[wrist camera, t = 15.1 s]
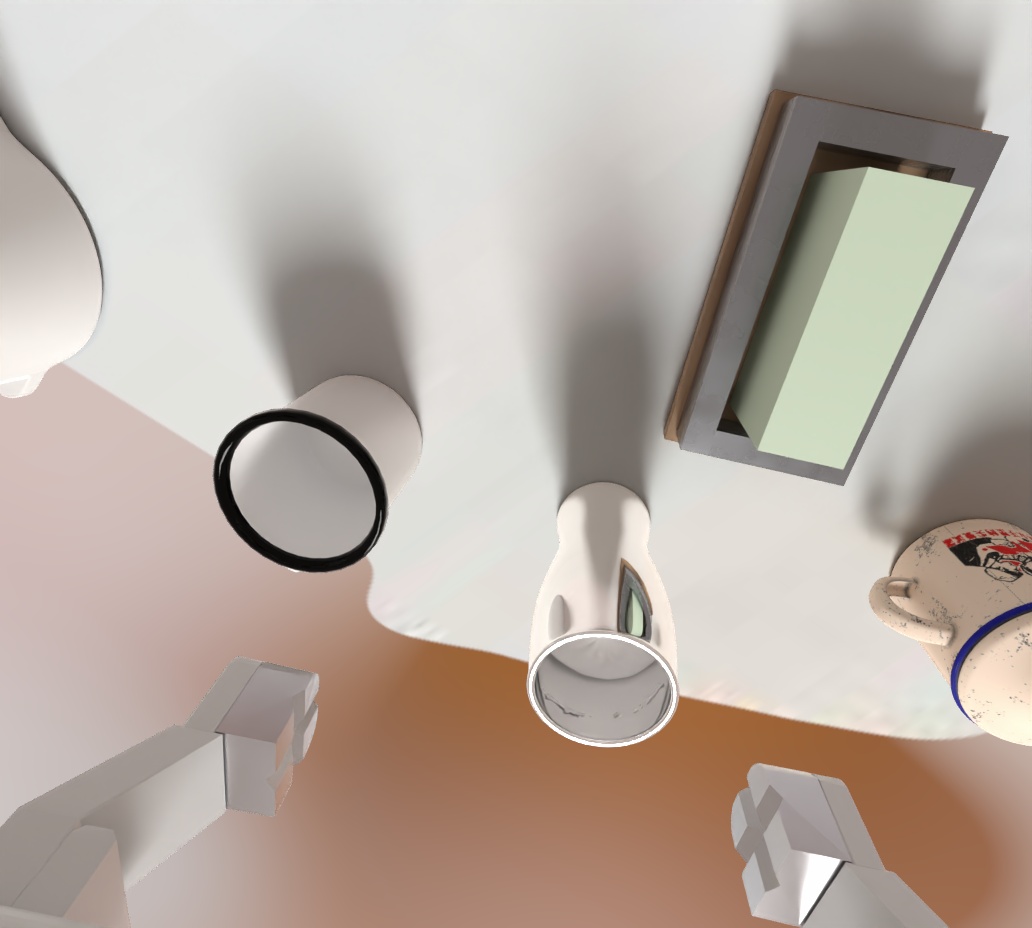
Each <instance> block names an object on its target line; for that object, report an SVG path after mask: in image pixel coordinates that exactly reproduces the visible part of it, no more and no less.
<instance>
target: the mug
mask: <svg viewBox="0 0 1032 928" xmlns="http://www.w3.org/2000/svg"><path fill="white" fill-rule="evenodd" d="M421 453H422V437H421V431H420V427H419V425H418V422H417V419H416V417H415V415H414V414H413V412H412V410H411V409H410V407H409V405H408V404H407V403H406V402H405V401H404V400H403V399H402V397H401V396H400V395H398V394H397V393H396V392H395V391H393V390H392V389H391V388H390V387H388V386H386V385H384V384H382V383H381V382H379V381H376V380H373V379H370V378H368V377H363V376H356V375H347V376H338V377H335V378H331V379H328V380H327V381H325V382H323V383H321V384H319V385H318V386H316V387H315V388H313V389H312V390H310V391H308V392H307V393H305V394H304V395H302V396H301V397H299V398H298V399H296V400H295V401H293V402H292V403H290V404H289V405H287V406H285V407H284V408H282V409H270V410H266V411H263V412H259V413H256V414H254V415H252V416H250V417H248V418H246V419H245V420H243V421H241V422H240V423H239V424H238V425H237V426H235V427H234V428H233V429H232V430H231V431H230V432H229V433H228V434H227V435H226V437H225V438H224V440H223V441H222V443H221V444H220V446H219V448H218V451H217V454H216V457H215V460H214V469H213V481H214V490H215V494H216V497H217V500H218V503H219V506H220V508H221V510H222V512H223V514H224V516H225V518H226V519H227V522H228V523H229V524H230V526H231V527H232V528H233V530H234V531H235V532H236V533H237V535H238V536H239V537H240V538H241V539H242V540H243V541H244V542H245V543H246V544H247V545H248V546H250V547H251V548H252V549H254V550H255V551H256V552H258V553H259V554H260V555H262V556H263V557H265V558H267V559H269V560H271V561H273V562H274V563H276V564H278V565H281V566H284V567H286V568H287V569H289V570H292V571H294V572H299V571H303V572H309V573H327V572H333V571H338V570H342V569H344V568H346V567H349V566H351V565H354V564H355V563H357V562H358V561H360V560H361V559H362V558H364V557H365V556H366V555H367V554H368V553H369V552H370V551H371V549H372V548H373V547H374V546H375V545H376V544H377V543H378V541H379V539H380V537H381V535H382V533H383V531H384V530H385V526H386V522H387V518H388V509H389V507H390V506H391V505H392V503H393V502H394V500H395V499H396V497H397V496H398V495H399V493H400V492H401V490H402V489H403V488H404V486H405V485H406V483H407V482H408V481H409V479H410V478H411V476H412V475H413V473H414V472H415V470H416V468H417V466H418V464H419V461H420V457H421Z"/></svg>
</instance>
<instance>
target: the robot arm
mask: <svg viewBox="0 0 1032 928" xmlns="http://www.w3.org/2000/svg"><path fill="white" fill-rule="evenodd" d="M101 303H102V278H101V271H100V265H99V260H98V256H97V252H96V249H95V246H94V243H93V240H92V237H91V235H90V232H89V230H88V228H87V225H86V223H85V221H84V219H83V217H82V215H81V213H80V212H79V210H78V208H77V206H76V205H75V203H74V202H73V200H72V198H71V197H70V195H69V194H68V193H67V191H66V190H65V189H64V187H63V186H62V185H61V183H60V182H59V181H58V180H57V178H56V177H55V176H54V175H53V174H52V173H51V172H50V171H49V170H48V168H47V167H46V166H45V165H44V164H42V163H41V162H40V161H39V160H38V159H37V158H36V157H35V156H34V155H33V154H32V153H30V152H29V151H28V150H27V149H26V148H25V147H24V146H23V145H22V144H21V143H20V142H19V141H18V140H17V139H16V138H15V137H14V136H13V135H12V134H11V133H10V131H9V130H8V128H7V126H6V125H5V123H4V122H3V120H2V118H1V117H0V395H3V396H6V397H9V398H16V397H21V396H26V395H29V394H31V393H32V392H34V390H35V389H36V388H37V386H38V385H39V383H40V382H41V380H42V378H43V376H44V375H45V373H46V371H47V370H48V369H49V368H51V367H52V366H54V365H56V364H58V363H60V362H62V361H64V360H66V359H68V358H70V357H71V356H73V355H74V354H76V353H77V352H78V351H79V350H80V349H81V348H82V347H83V346H84V345H85V344H86V343H87V341H88V340H89V338H90V337H91V335H92V333H93V331H94V329H95V327H96V324H97V321H98V318H99V314H100V310H101ZM318 689H319V675H318V674H316V673H312V672H308V671H303V670H299V669H295V668H290V667H286V666H281V665H277V664H273V663H269V662H263V661H258V660H254V659H249V658H245V657H240V656H238V657H236V658H235V659H234V660H232V661H231V662H230V663H229V664H228V666H227V667H226V668H225V670H224V671H223V672H222V674H221V675H220V676H219V678H218V679H217V680H216V682H215V683H214V684H213V686H212V687H211V688H210V690H209V691H208V693H207V694H206V695H205V697H204V698H203V699H202V701H201V702H200V703H199V705H198V706H197V707H196V709H195V710H194V711H193V713H192V714H191V715H190V717H189V718H188V719H187V721H186V722H185V724H184V725H183V726H180V725H173V726H171V727H169V728H167V729H165V730H163V731H162V732H160V733H157V734H156V735H154V736H152V737H150V738H148V739H146V740H144V741H143V742H141V743H139V744H137V745H135V746H133V747H131V748H129V749H127V750H126V751H124V752H122V753H120V754H118V755H116V756H115V757H112V758H111V759H109V760H107V761H105V762H103V763H101V764H99V765H98V766H96V767H94V768H92V769H90V770H88V771H86V772H84V773H82V774H80V775H79V776H77V777H75V778H73V779H71V780H69V781H67V782H65V783H64V784H62V785H60V786H58V787H56V788H54V789H52V790H51V791H49V792H47V793H45V794H43V795H41V796H39V797H37V798H36V799H34V800H32V801H30V802H28V803H26V804H24V805H22V806H20V807H19V808H18V809H17V810H16V811H15V812H14V814H12V815H11V817H10V818H9V819H8V820H7V821H6V822H5V823H4V824H3V825H2V826H1V828H0V928H131V926H130V920H129V914H128V907H127V901H126V895H125V892H126V891H127V890H128V889H130V888H131V887H132V886H133V885H135V884H136V883H137V882H138V881H140V880H141V879H142V878H143V877H145V876H146V875H147V874H148V873H150V872H151V871H152V870H153V869H155V868H156V867H157V866H159V865H160V864H161V863H162V862H164V861H165V860H166V859H167V858H169V857H170V856H171V855H172V854H173V853H175V852H176V851H177V850H178V849H180V848H181V847H182V846H184V845H185V844H186V843H187V842H188V841H190V840H191V839H192V838H194V837H195V836H196V835H197V834H199V833H200V832H201V831H202V830H204V829H205V828H206V827H207V826H209V825H210V824H211V823H212V822H214V821H215V820H216V819H217V818H218V817H220V816H221V815H222V814H223V813H225V811H226V809H232V810H238V811H243V812H249V813H255V814H261V815H267V816H272V817H275V816H276V814H277V812H278V810H279V808H280V806H281V804H282V801H283V799H284V798H285V795H286V793H287V791H288V789H289V787H290V785H291V783H292V770H293V766H294V765H296V764H297V763H299V762H300V761H302V760H303V758H304V756H305V754H306V752H307V750H308V747H309V745H310V742H311V739H312V736H313V733H314V730H315V726H316V721H317V714H318V706H317V704H316V703H315V702H314V700H313V699H314V697H315V695H316V693H317V691H318ZM747 779H748V783H749V786H750V787H748V788H746V789H744V790H742V791H740V792H739V793H738V795H737V797H736V799H735V801H734V804H733V808H732V816H731V827H732V836H733V840H734V845H735V849H736V850H737V851H738V853H739V854H740V855H741V856H742V858H743V859H744V860H745V861H746V863H747V865H746V867H745V869H744V871H743V873H742V878H743V882H744V886H745V890H746V894H747V898H748V902H749V906H750V910H751V914H752V916H756V917H760V918H764V919H768V920H773V921H777V922H781V923H785V924H790V925H794V926H798V927H802V928H949V927H948V926H947V925H946V924H945V923H944V922H943V921H942V920H941V919H940V918H939V917H938V916H937V915H936V914H935V913H934V912H933V911H932V910H931V909H930V908H929V907H928V906H927V905H926V904H925V903H924V902H923V901H922V900H921V899H920V898H919V897H918V896H917V895H916V894H915V893H914V892H913V891H912V890H911V889H910V888H909V887H908V886H907V885H906V884H905V883H904V882H903V881H902V880H901V879H900V878H899V877H898V876H897V875H896V874H895V873H894V872H890V871H886V870H885V868H884V866H883V864H882V862H881V860H880V857H879V855H878V853H877V851H876V849H875V847H874V844H873V842H872V840H871V838H870V836H869V834H868V832H867V829H866V827H865V825H864V823H863V821H862V819H861V816H860V814H859V812H858V810H857V808H856V806H855V804H854V802H853V799H852V797H851V795H850V793H849V791H848V788H847V786H846V785H845V784H844V783H843V782H842V781H841V780H840V779H837V778H831V777H826V776H821V775H816V774H810V773H807V772H802V771H797V770H791V769H787V768H781V767H776V766H770V765H766V764H760V763H756V764H755V765H753V766H752V767H751V769H750V771H749V773H748V775H747Z"/></svg>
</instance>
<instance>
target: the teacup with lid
mask: <svg viewBox="0 0 1032 928" xmlns="http://www.w3.org/2000/svg"><path fill="white" fill-rule="evenodd" d="M889 596H891V599H890V597H889ZM869 603H870V606H871V608H872V610H873V611H874V613H875V614H876V616H877V617H878V618H879V619H880V620H881V621H882V622H883V623H885V624H886V625H887V626H889V627H890V628H892V629H894V630H895V631H897V632H899V633H901V634H903V635H905V636H907V637H910V638H913V639H916V640H918V642H919V643H920V645H921V646H922V647H923V649H924V650H925V652H926V653H927V655H928V656H929V657H930V659H931V660H932V662H933V663H934V664H935V666H936V667H937V669H938V670H939V671H940V673H941V674H942V676H943V677H944V679H945V680H946V681H947V683H948V684H949V686H950V687H951V690H952V694H953V697H954V700H955V702H956V704H957V705H958V707H959V708H960V710H961V711H962V712H963V713H964V714H965V716H966V717H967V718H969V719H970V720H971V721H972V722H973V723H975V724H976V725H978V726H979V727H980V728H982V729H983V730H985V731H987V732H988V733H990V734H992V735H994V736H996V737H999V738H1001V739H1004V740H1007V741H1010V742H1013V743H1017V744H1022V745H1028V746H1032V536H1031V535H1030V534H1029V533H1027V532H1026V531H1024V530H1022V529H1021V528H1019V527H1017V526H1014V525H1012V524H1009V523H1006V522H1002V521H997V520H990V519H970V520H963V521H957V522H953V523H950V524H946V525H943V526H941V527H938V528H936V529H934V530H932V531H930V532H928V533H926V534H925V535H923V536H921V537H920V538H919V539H917V540H916V541H915V542H914V543H912V544H911V545H910V546H909V547H908V548H907V549H906V550H905V551H904V552H903V554H902V555H901V556H900V558H899V559H898V561H897V563H896V564H895V566H894V569H893V571H892V574H891V576H890V577H884V578H881V579H879V580H877V581H876V582H875V583H874V585H873V587H872V589H871V591H870V594H869Z"/></svg>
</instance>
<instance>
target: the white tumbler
mask: <svg viewBox="0 0 1032 928" xmlns="http://www.w3.org/2000/svg"><path fill="white" fill-rule="evenodd" d="M557 531H558V536H559V540H560V542H559V543H560V545H559V549H558V551H557V553H556V555H555V557H554V559H553V561H552V563H551V565H550V567H549V569H548V571H547V574H546V576H545V578H544V580H543V583H542V586H541V588H540V591H539V594H538V597H537V601H536V605H535V610H534V614H533V619H532V627H531V635H530V649H529V671H528V676H527V692H528V697H529V700H530V702H531V705H532V707H533V709H534V710H535V712H536V713H537V715H538V716H539V717H540V718H541V719H542V721H543V722H544V723H545V724H547V725H548V726H549V727H550V728H551V729H553V730H554V731H556V732H557V733H559V734H560V735H562V736H564V737H566V738H568V739H570V740H573V741H576V742H579V743H582V744H586V745H591V746H598V747H620V746H626V745H631V744H635V743H638V742H641V741H643V740H645V739H648V738H649V737H651V736H653V735H655V734H656V733H657V732H659V731H660V730H661V729H662V728H663V727H665V725H666V724H667V723H668V722H669V721H670V719H671V718H672V716H673V715H674V713H675V711H676V708H677V705H678V700H679V685H678V677H677V648H676V637H675V628H674V621H673V617H672V612H671V607H670V603H669V599H668V596H667V594H666V591H665V588H664V585H663V583H662V580H661V578H660V576H659V574H658V572H657V569H656V567H655V565H654V563H653V561H652V559H651V557H650V555H649V552H648V550H647V543H648V539H649V534H650V517H649V513H648V510H647V508H646V506H645V504H644V503H643V501H642V500H641V499H640V498H639V497H638V496H637V495H636V494H635V493H634V492H632V491H631V490H629V489H628V488H626V487H624V486H621V485H618V484H614V483H608V482H597V483H591V484H587V485H584V486H582V487H580V488H578V489H576V490H575V491H573V492H572V493H571V494H570V495H569V496H568V497H567V498H566V499H565V500H564V502H563V503H562V505H561V507H560V509H559V511H558V515H557Z"/></svg>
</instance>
